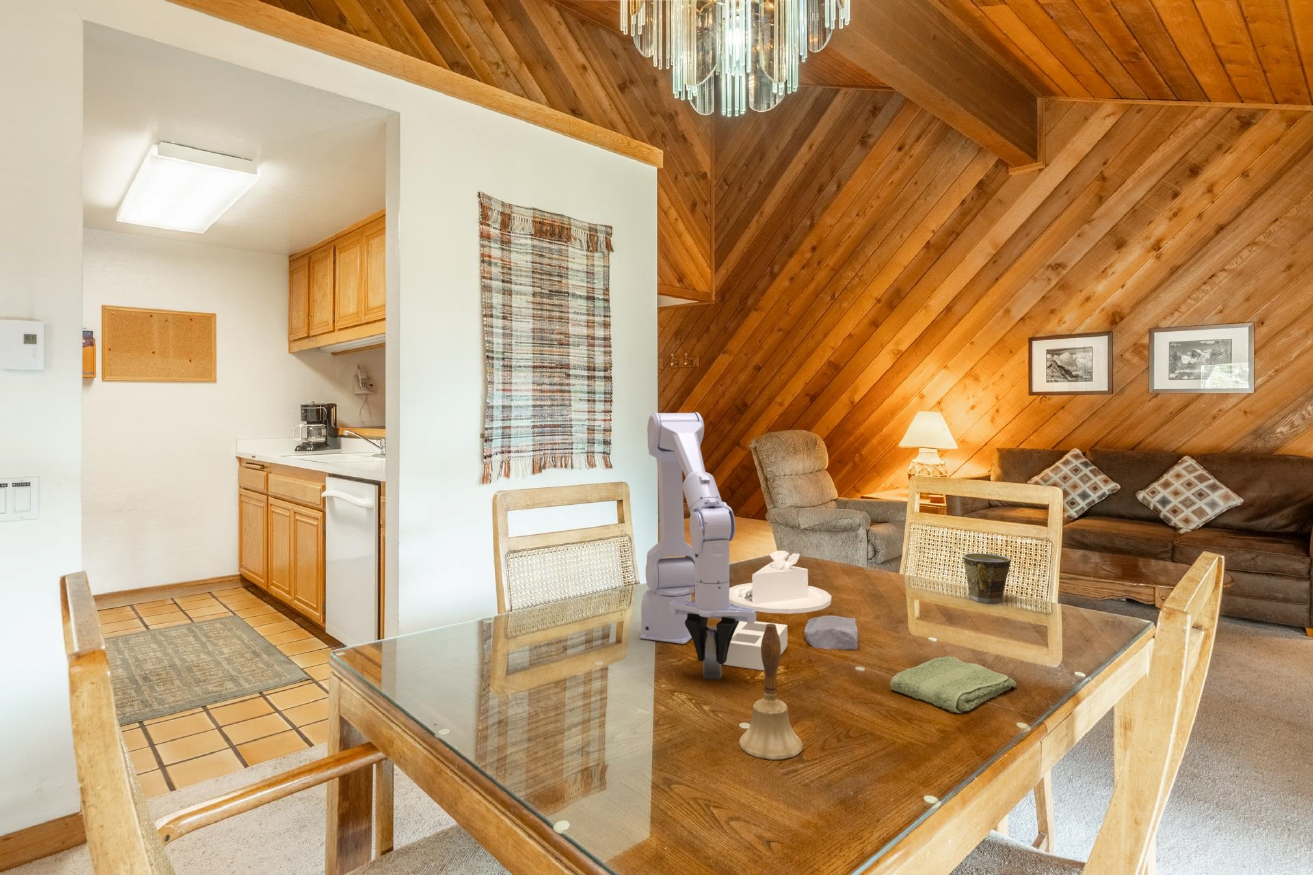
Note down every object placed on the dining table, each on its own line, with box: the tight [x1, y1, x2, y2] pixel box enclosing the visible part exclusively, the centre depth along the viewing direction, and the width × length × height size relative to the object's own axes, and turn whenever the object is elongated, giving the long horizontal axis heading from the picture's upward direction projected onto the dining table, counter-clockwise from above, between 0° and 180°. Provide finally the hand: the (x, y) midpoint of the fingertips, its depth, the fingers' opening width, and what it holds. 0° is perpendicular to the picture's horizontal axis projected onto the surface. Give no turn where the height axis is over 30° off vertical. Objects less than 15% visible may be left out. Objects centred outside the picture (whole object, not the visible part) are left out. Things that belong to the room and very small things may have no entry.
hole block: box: [722, 620, 788, 672], centre depth 128 cm, size 10×14×4 cm
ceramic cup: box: [962, 552, 1011, 604], centre depth 163 cm, size 13×10×10 cm
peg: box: [702, 625, 722, 681], centre depth 117 cm, size 3×3×8 cm
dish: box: [729, 550, 832, 614], centre depth 166 cm, size 25×25×11 cm
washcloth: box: [889, 656, 1017, 714], centre depth 111 cm, size 13×18×3 cm
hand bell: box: [738, 623, 804, 761], centre depth 92 cm, size 8×8×16 cm
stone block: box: [804, 615, 859, 651], centre depth 136 cm, size 12×5×10 cm
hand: (712, 660), depth 117 cm, fingers closed on peg, 3 cm apart
